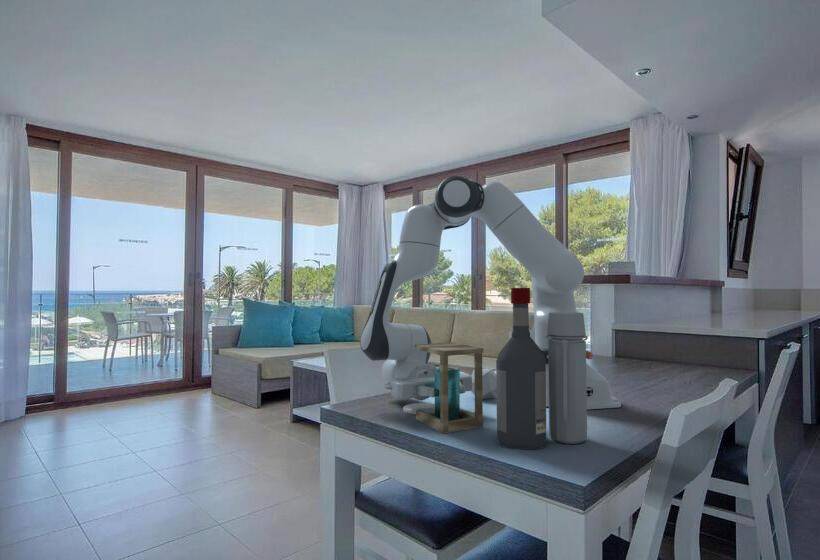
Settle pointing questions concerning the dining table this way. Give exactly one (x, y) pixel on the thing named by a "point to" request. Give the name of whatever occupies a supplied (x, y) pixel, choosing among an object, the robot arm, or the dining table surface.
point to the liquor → (521, 383)
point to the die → (486, 384)
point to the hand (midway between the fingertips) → (449, 391)
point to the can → (449, 393)
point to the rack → (466, 417)
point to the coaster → (419, 408)
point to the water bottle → (567, 377)
